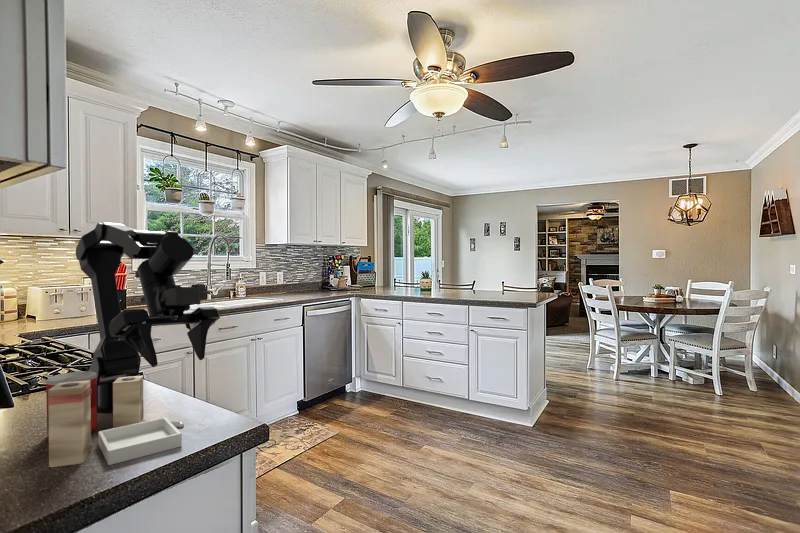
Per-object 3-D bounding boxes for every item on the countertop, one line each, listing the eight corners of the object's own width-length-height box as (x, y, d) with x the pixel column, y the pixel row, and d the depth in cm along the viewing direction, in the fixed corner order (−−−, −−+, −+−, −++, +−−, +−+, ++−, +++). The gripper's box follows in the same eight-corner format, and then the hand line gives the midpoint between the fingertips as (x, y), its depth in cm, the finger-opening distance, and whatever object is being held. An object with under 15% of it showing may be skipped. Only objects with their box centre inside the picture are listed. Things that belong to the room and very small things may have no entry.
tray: (98, 444, 79) (98, 431, 79) (165, 428, 86) (165, 417, 86) (108, 465, 71) (108, 451, 71) (181, 446, 78) (181, 433, 78)
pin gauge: (141, 427, 88) (141, 421, 88) (145, 425, 89) (145, 419, 89) (181, 429, 87) (181, 423, 87) (185, 427, 88) (185, 421, 88)
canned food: (38, 443, 80) (37, 383, 80) (59, 427, 87) (59, 372, 87) (86, 438, 82) (86, 380, 82) (103, 423, 89) (103, 369, 89)
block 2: (118, 420, 91) (118, 377, 91) (143, 417, 93) (143, 375, 93) (113, 428, 87) (112, 382, 87) (139, 425, 88) (138, 380, 88)
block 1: (59, 456, 74) (58, 382, 74) (91, 451, 76) (90, 379, 76) (48, 467, 70) (48, 389, 70) (82, 463, 72) (81, 386, 72)
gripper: (131, 264, 74) (153, 350, 69) (225, 269, 90) (247, 339, 85) (99, 295, 78) (117, 377, 74) (194, 294, 94) (213, 362, 90)
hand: (179, 362), depth 81 cm, fingers open, 9 cm apart
